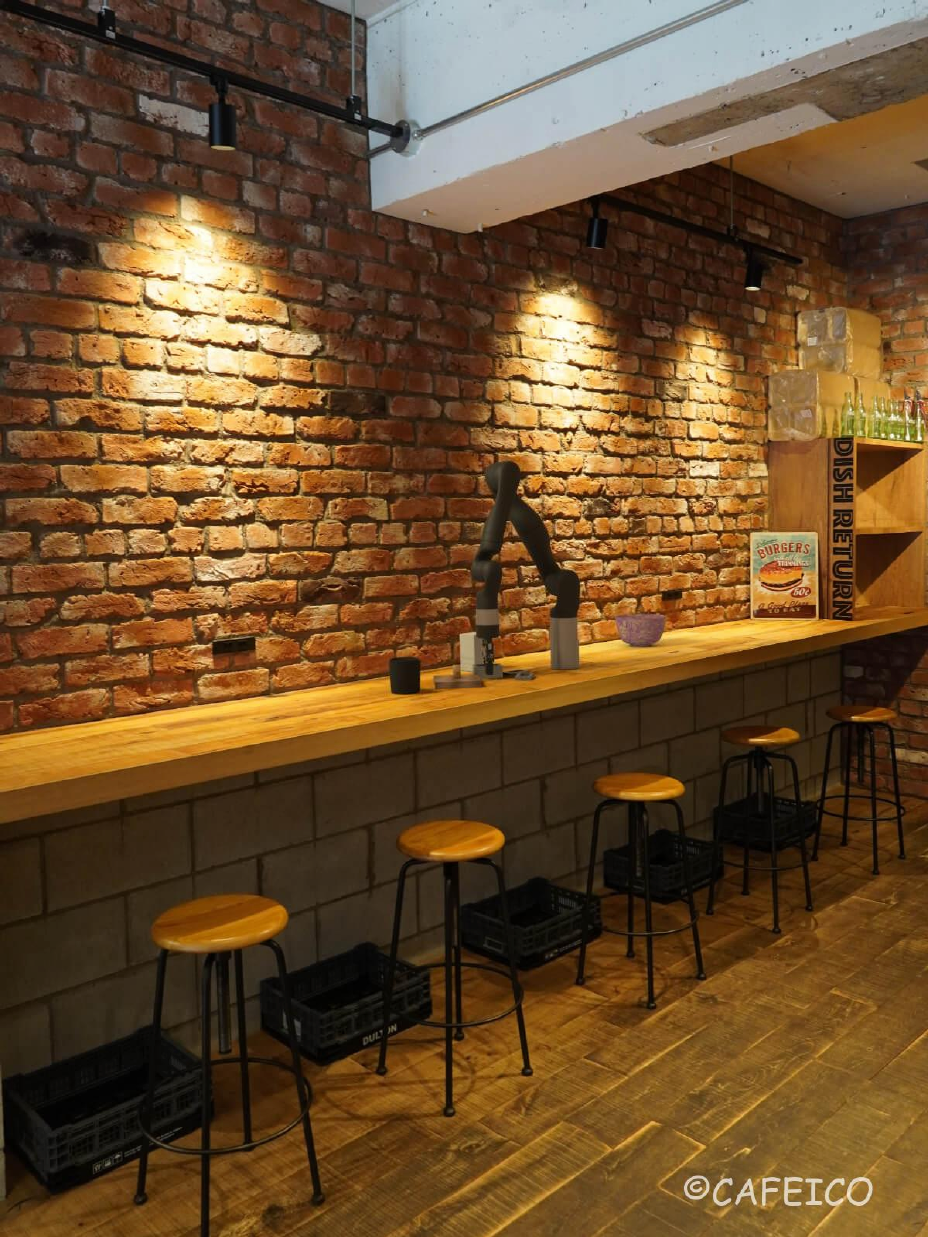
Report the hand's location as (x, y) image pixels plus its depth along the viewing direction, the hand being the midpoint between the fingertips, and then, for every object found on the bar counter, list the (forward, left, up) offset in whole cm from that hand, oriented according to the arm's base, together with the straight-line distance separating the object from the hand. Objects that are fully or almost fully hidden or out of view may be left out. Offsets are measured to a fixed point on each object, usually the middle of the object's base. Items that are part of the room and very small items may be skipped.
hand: (488, 673), depth 335 cm
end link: (0, 0, -1) cm, 1 cm away
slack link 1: (-9, -3, -1) cm, 10 cm away
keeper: (+11, +13, -1) cm, 17 cm away
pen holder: (+27, +24, -2) cm, 36 cm away
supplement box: (+3, -17, -2) cm, 17 cm away
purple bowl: (-66, -69, -2) cm, 95 cm away
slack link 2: (-11, +5, -1) cm, 12 cm away
